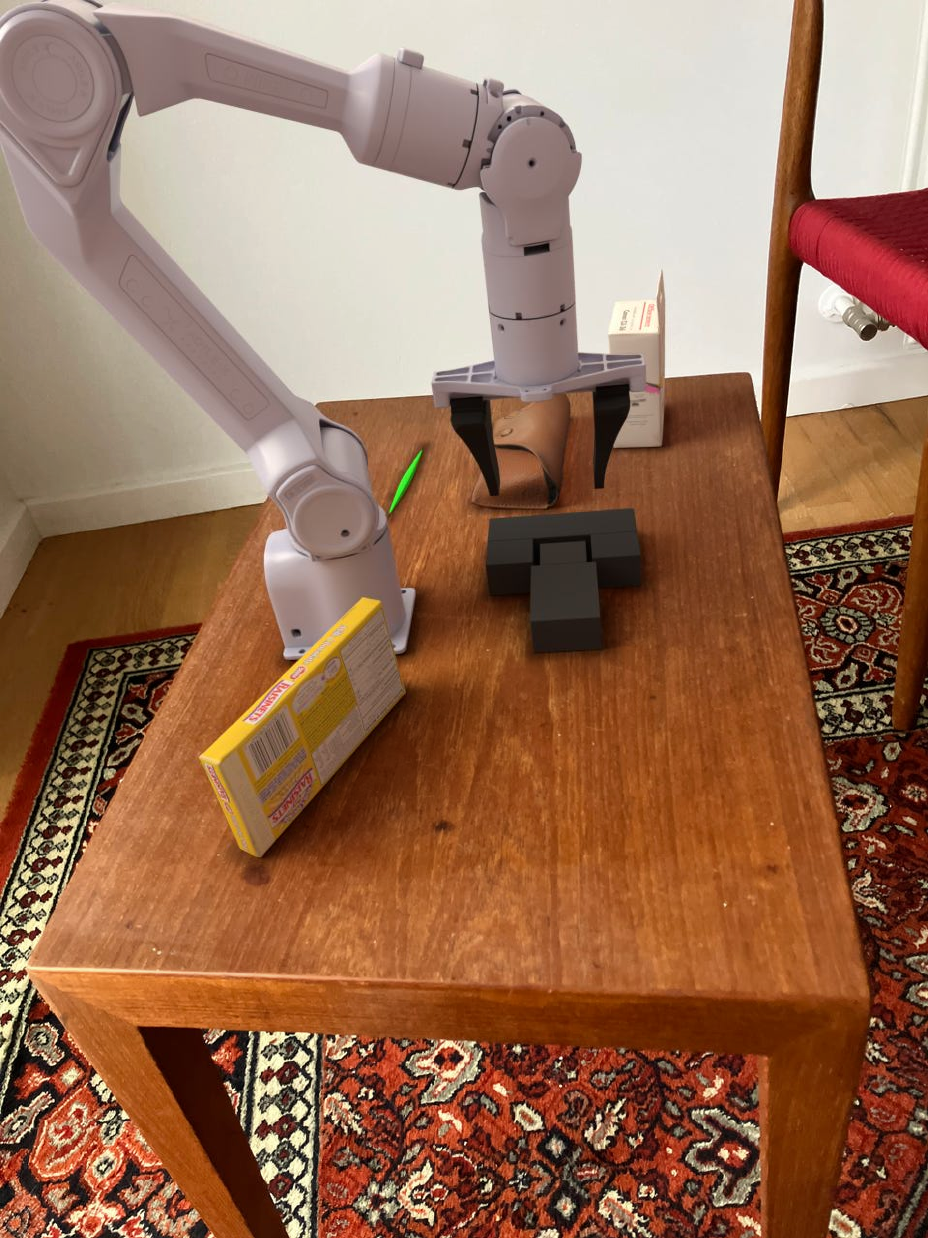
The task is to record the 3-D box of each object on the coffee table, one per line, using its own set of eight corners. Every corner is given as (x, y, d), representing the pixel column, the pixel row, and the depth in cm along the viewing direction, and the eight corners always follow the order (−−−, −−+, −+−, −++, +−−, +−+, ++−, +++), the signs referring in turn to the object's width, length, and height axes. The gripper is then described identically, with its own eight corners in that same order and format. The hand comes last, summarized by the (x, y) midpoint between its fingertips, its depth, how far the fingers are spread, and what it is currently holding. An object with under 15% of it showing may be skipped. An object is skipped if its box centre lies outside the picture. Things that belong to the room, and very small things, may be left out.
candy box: (383, 686, 68) (362, 593, 63) (408, 693, 67) (388, 600, 62) (235, 848, 58) (195, 753, 53) (261, 860, 57) (222, 765, 52)
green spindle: (383, 521, 87) (381, 514, 87) (420, 449, 98) (419, 442, 98) (392, 522, 87) (391, 514, 87) (428, 449, 98) (427, 442, 97)
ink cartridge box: (617, 410, 99) (613, 268, 90) (665, 409, 98) (666, 265, 89) (610, 449, 92) (605, 300, 84) (662, 448, 91) (662, 297, 82)
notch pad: (489, 595, 76) (485, 565, 74) (493, 547, 81) (489, 517, 79) (641, 586, 74) (640, 554, 72) (634, 538, 80) (633, 507, 78)
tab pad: (533, 653, 69) (530, 621, 67) (534, 575, 77) (531, 544, 75) (602, 649, 69) (600, 617, 67) (595, 571, 76) (594, 540, 75)
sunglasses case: (490, 418, 100) (517, 364, 96) (549, 445, 101) (579, 394, 97) (468, 507, 86) (499, 449, 82) (537, 538, 87) (571, 482, 83)
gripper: (415, 337, 60) (444, 520, 68) (649, 315, 58) (650, 507, 66) (427, 298, 65) (453, 472, 73) (641, 277, 63) (642, 458, 71)
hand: (546, 485), depth 70 cm, fingers open, 7 cm apart
